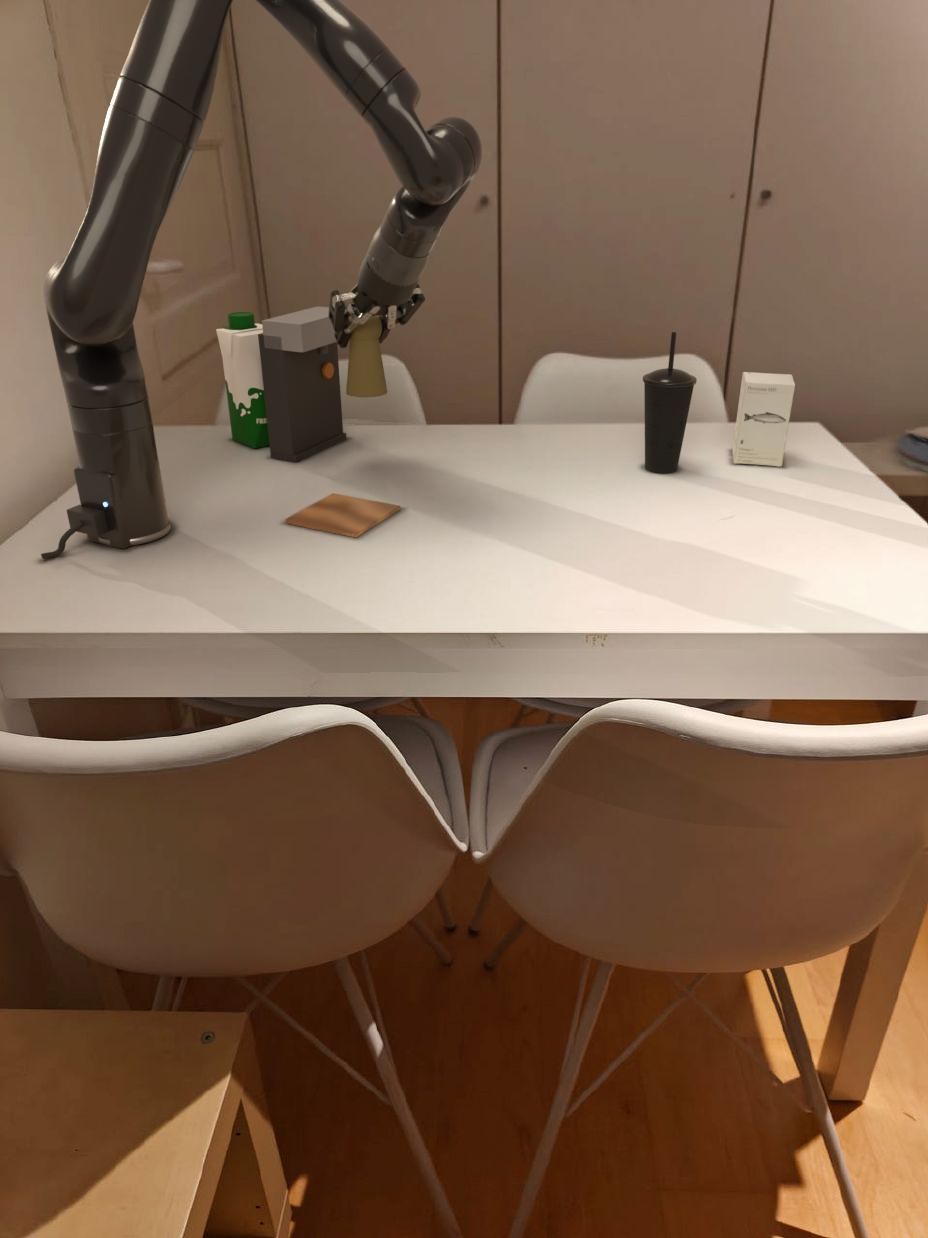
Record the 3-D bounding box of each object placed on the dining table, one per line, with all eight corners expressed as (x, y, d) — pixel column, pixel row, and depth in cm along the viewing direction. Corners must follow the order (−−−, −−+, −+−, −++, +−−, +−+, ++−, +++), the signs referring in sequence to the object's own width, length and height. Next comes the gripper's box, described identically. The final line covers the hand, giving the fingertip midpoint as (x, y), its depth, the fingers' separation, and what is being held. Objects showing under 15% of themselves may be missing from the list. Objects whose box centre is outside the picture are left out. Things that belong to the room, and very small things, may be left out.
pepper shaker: (380, 398, 133) (377, 318, 128) (340, 396, 134) (336, 317, 129) (392, 388, 138) (389, 311, 133) (353, 386, 139) (349, 310, 134)
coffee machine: (312, 464, 143) (300, 324, 133) (270, 457, 146) (256, 319, 136) (361, 440, 154) (354, 309, 144) (322, 434, 157) (311, 305, 147)
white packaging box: (732, 464, 142) (743, 381, 136) (731, 450, 148) (742, 370, 142) (782, 467, 140) (796, 384, 134) (780, 453, 147) (792, 372, 141)
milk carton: (269, 429, 160) (257, 308, 151) (298, 440, 154) (287, 315, 145) (224, 439, 155) (208, 315, 146) (252, 451, 149) (237, 322, 140)
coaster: (356, 537, 117) (355, 533, 117) (285, 523, 121) (285, 519, 121) (400, 509, 126) (400, 505, 125) (333, 497, 130) (332, 493, 130)
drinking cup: (628, 471, 139) (639, 334, 130) (644, 457, 145) (656, 325, 136) (678, 479, 136) (693, 339, 126) (692, 464, 142) (707, 330, 132)
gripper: (432, 233, 124) (392, 314, 138) (335, 238, 117) (303, 323, 132) (453, 280, 122) (411, 356, 137) (356, 288, 116) (322, 368, 130)
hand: (358, 340), depth 134 cm, fingers closed on pepper shaker, 5 cm apart
